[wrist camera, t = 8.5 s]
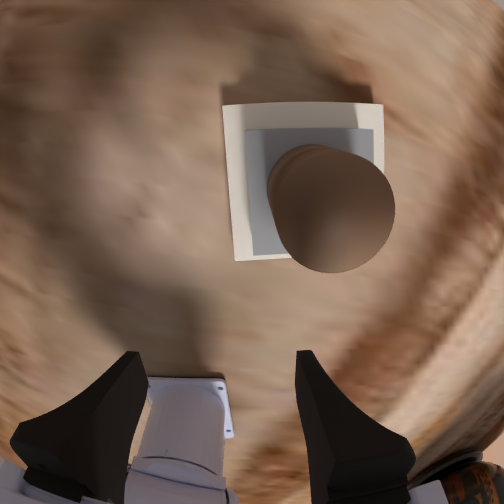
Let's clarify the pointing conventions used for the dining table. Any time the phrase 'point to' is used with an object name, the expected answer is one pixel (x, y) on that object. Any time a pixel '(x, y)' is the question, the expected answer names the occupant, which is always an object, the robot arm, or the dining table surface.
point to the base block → (276, 118)
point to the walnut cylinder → (330, 207)
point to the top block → (268, 153)
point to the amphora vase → (466, 478)
